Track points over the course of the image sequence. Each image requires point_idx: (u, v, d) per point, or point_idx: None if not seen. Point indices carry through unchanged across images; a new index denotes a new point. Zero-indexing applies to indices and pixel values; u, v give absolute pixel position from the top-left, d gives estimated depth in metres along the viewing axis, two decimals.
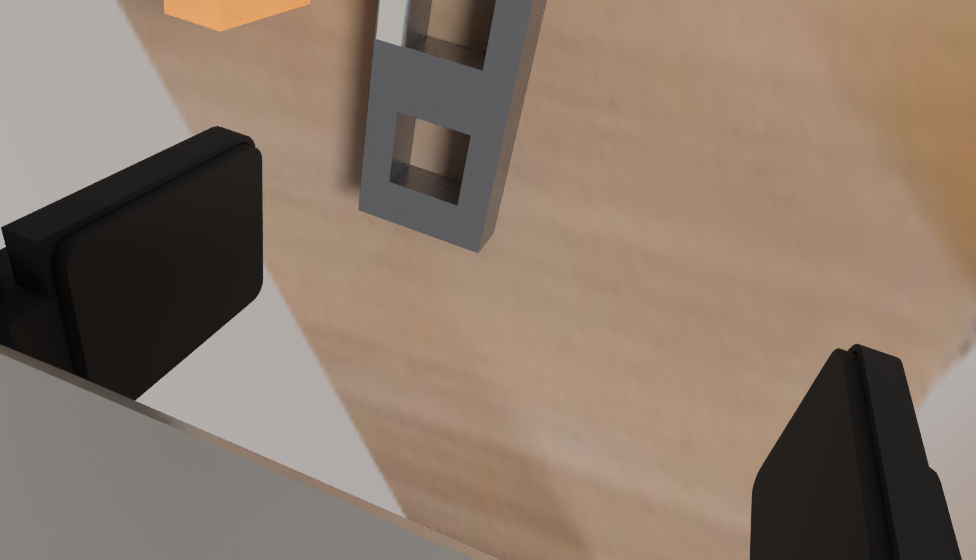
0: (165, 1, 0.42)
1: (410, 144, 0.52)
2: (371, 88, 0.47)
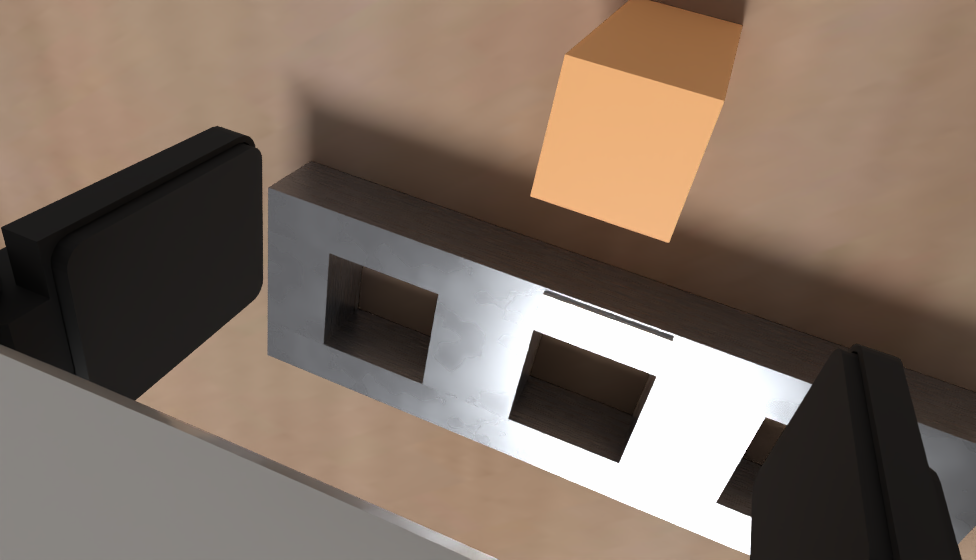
0: (592, 68, 0.17)
1: None
2: (467, 262, 0.29)
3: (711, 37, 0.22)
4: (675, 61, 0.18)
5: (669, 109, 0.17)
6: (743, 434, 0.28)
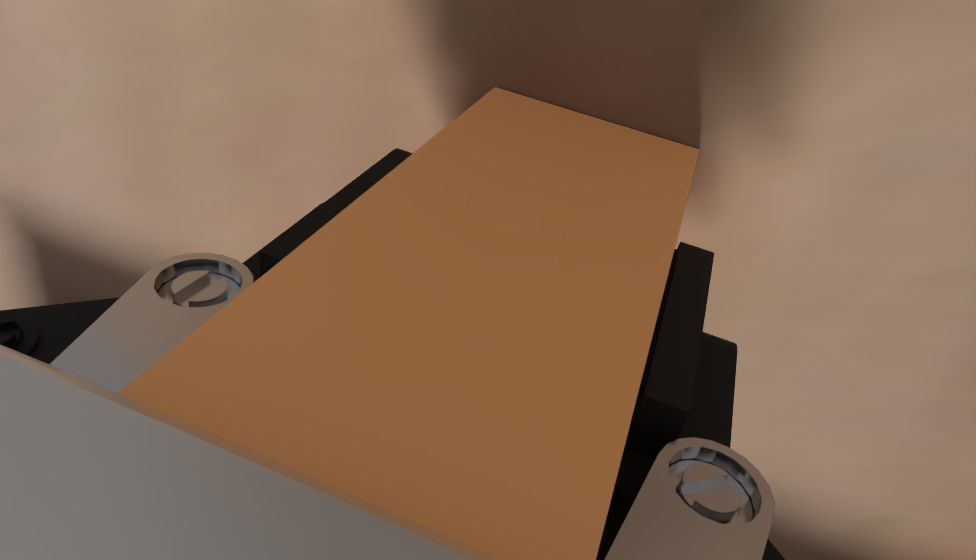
0: None
1: None
2: None
3: (621, 211, 0.10)
4: (478, 372, 0.07)
5: None
6: None
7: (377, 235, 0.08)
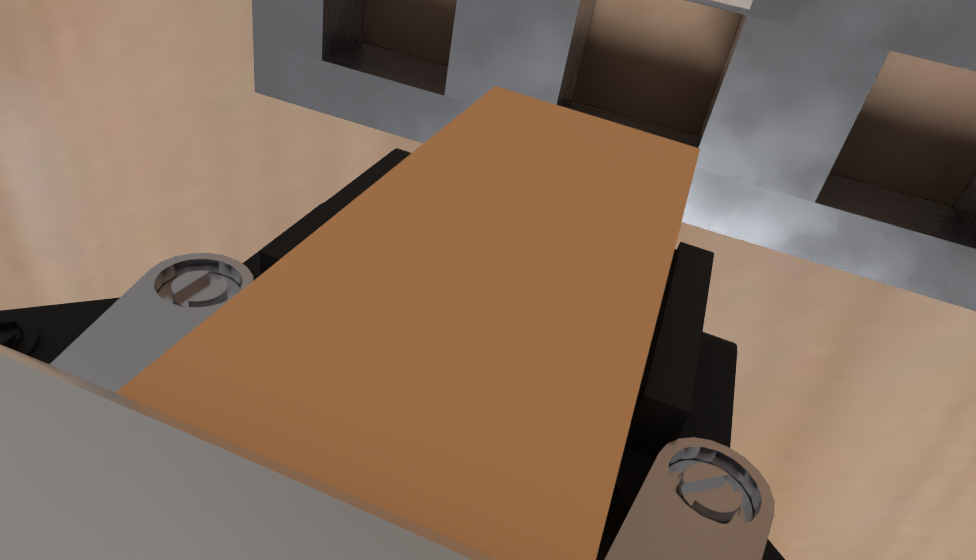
0: None
1: None
2: None
3: (621, 210, 0.10)
4: (478, 371, 0.07)
5: None
6: (857, 85, 0.22)
7: (377, 234, 0.08)
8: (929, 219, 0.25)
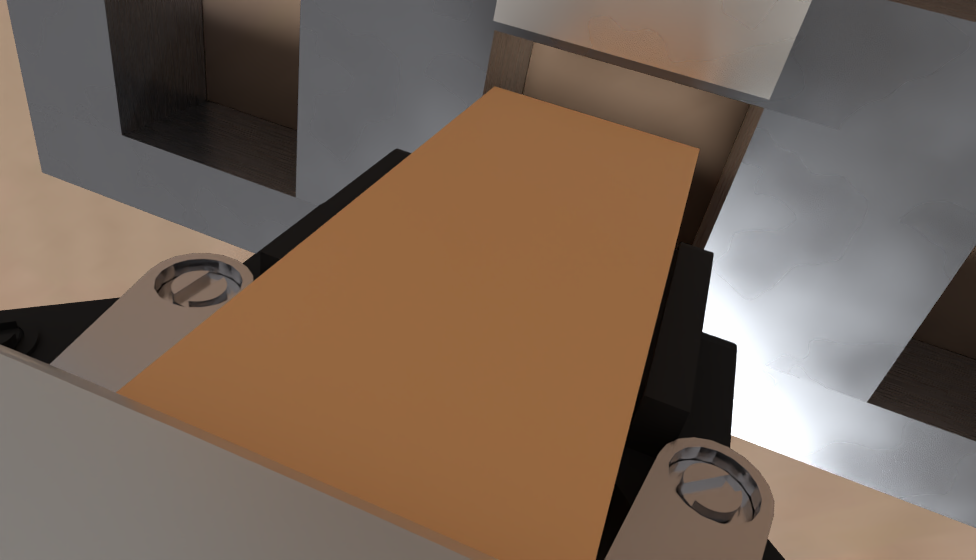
0: None
1: None
2: None
3: (621, 210, 0.10)
4: (478, 372, 0.07)
5: None
6: (954, 234, 0.13)
7: (376, 234, 0.08)
8: None
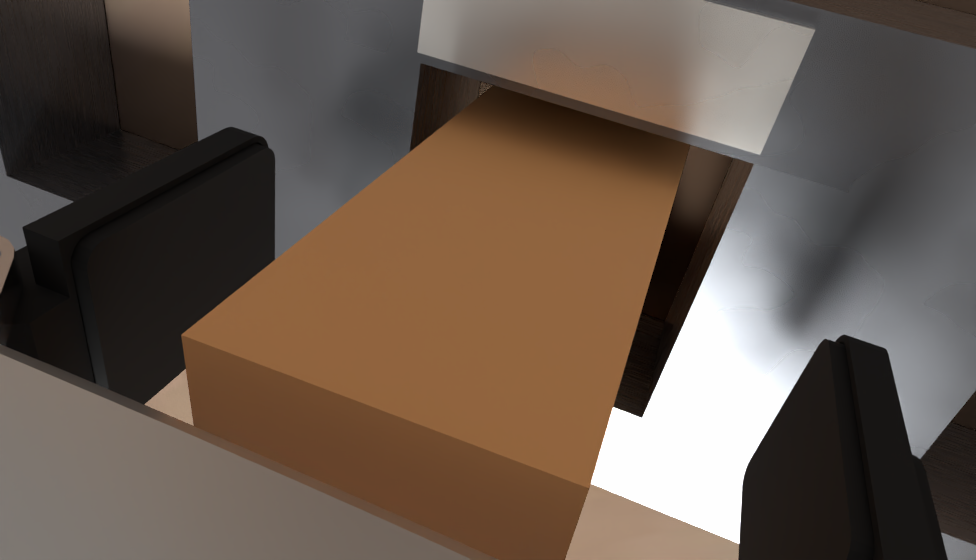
0: (250, 370, 0.06)
1: None
2: None
3: (626, 170, 0.11)
4: (509, 289, 0.08)
5: (454, 484, 0.06)
6: None
7: (416, 190, 0.10)
8: None
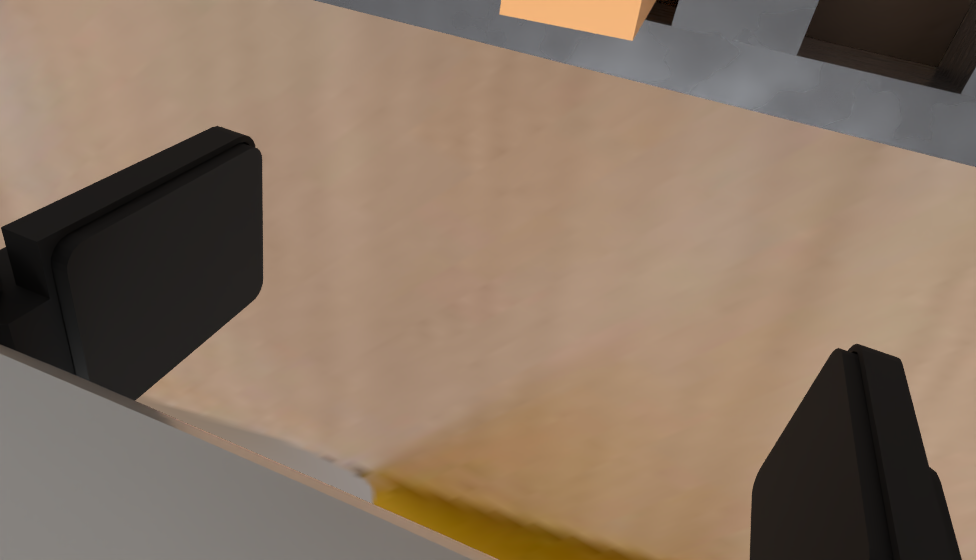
0: None
1: None
2: None
3: None
4: None
5: None
6: None
7: None
8: (912, 73, 0.25)
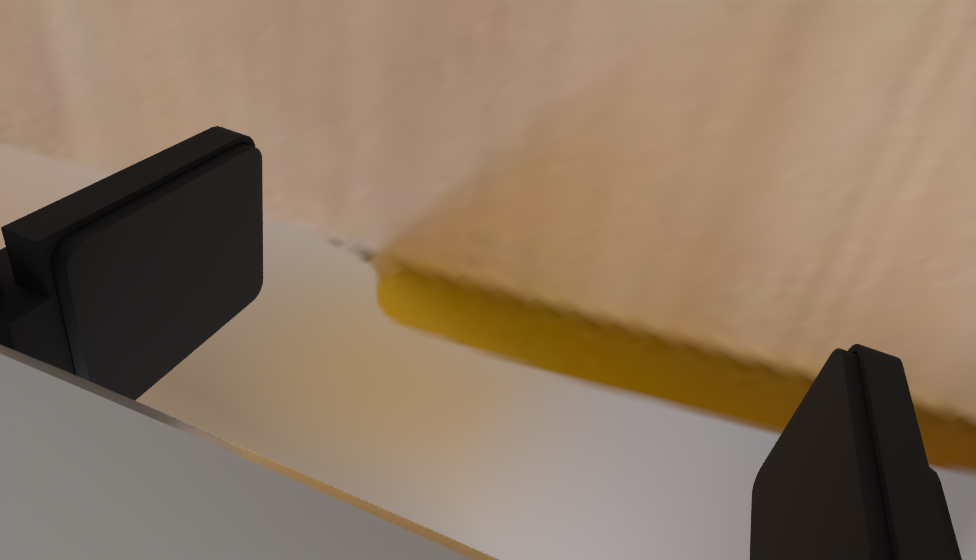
0: None
1: None
2: None
3: None
4: None
5: None
6: None
7: None
8: None
